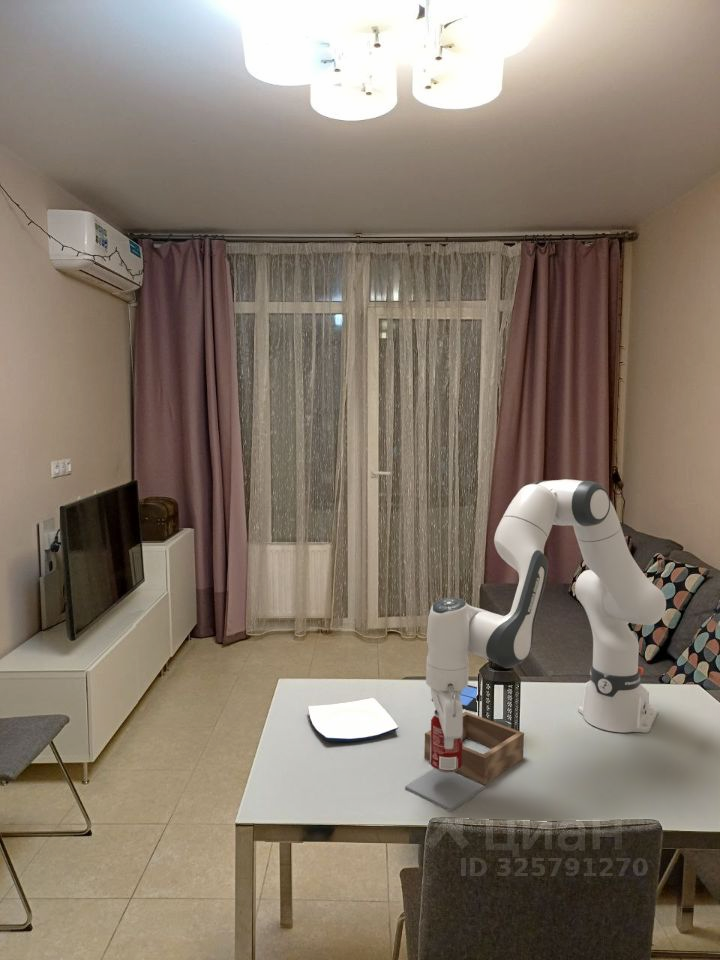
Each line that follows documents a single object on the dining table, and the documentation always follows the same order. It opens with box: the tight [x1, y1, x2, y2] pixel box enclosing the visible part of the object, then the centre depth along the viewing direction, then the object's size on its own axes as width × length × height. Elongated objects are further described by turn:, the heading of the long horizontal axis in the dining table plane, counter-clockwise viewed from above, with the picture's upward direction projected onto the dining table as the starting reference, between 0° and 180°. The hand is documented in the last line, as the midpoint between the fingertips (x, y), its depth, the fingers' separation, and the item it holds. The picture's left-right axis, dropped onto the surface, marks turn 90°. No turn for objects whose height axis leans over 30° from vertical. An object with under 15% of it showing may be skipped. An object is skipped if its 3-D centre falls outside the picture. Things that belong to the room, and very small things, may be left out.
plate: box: [307, 697, 399, 742], centre depth 176 cm, size 20×20×3 cm
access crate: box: [423, 711, 525, 785], centre depth 160 cm, size 16×16×6 cm
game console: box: [431, 684, 477, 713], centre depth 193 cm, size 14×13×2 cm
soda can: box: [429, 709, 464, 773], centre depth 146 cm, size 7×7×12 cm
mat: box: [404, 768, 485, 812], centre depth 147 cm, size 12×12×1 cm
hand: (445, 738), depth 146 cm, fingers closed on soda can, 6 cm apart
